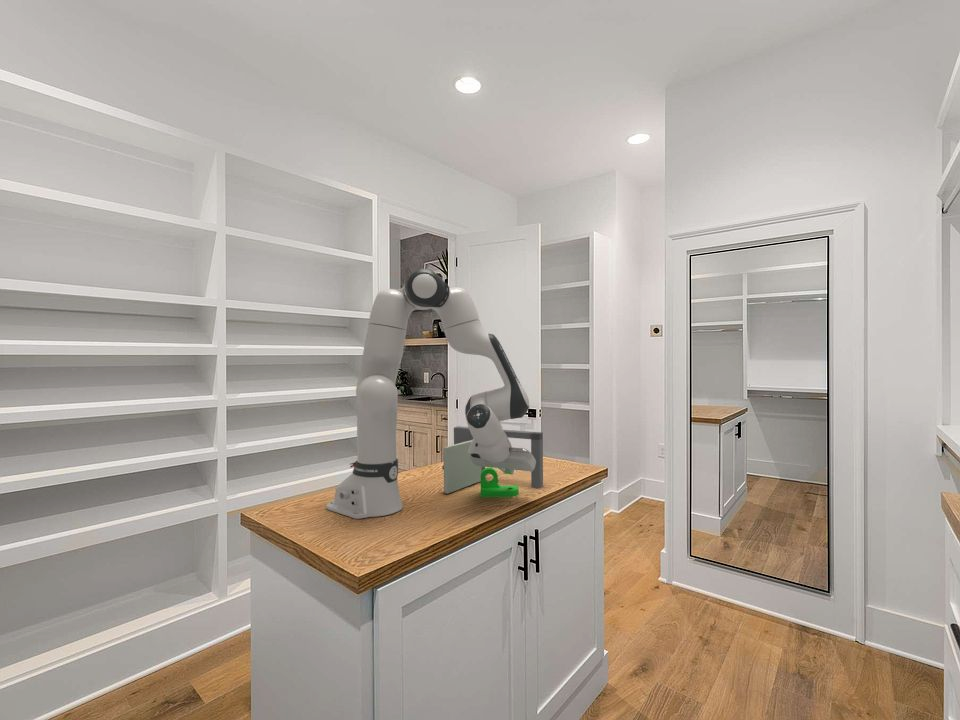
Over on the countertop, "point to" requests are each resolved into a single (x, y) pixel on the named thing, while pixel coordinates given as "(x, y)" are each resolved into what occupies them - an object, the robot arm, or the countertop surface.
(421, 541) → the countertop surface
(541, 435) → the wall frame
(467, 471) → the door
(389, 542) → the countertop surface
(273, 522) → the countertop surface
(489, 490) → the mechanical part
